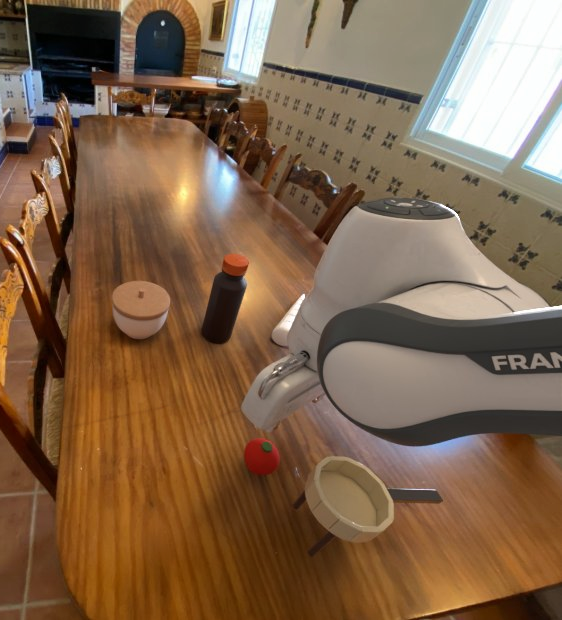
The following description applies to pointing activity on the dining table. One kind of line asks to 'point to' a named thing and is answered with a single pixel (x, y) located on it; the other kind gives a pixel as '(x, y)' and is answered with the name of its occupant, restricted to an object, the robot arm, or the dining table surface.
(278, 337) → the unicorn horn
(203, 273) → the dining table surface
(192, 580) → the dining table surface
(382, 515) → the pan
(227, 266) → the bottle
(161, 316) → the lidded bowl
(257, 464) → the tomato
